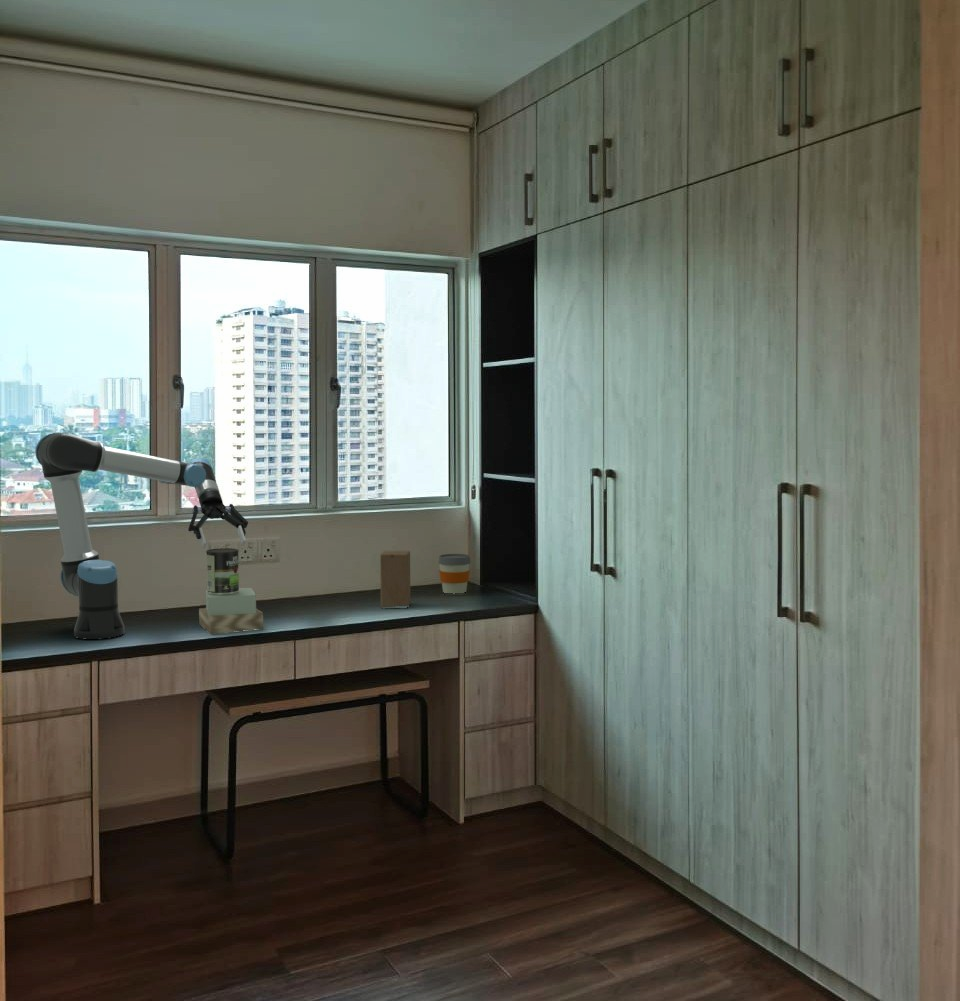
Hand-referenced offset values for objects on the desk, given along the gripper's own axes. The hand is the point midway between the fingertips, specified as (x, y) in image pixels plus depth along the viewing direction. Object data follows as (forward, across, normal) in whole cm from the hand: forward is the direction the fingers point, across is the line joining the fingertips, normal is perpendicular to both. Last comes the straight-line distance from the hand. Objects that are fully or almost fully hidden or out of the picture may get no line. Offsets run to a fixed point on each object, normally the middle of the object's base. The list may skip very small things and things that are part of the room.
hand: (224, 544), depth 339 cm
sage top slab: (+20, 0, -10) cm, 22 cm away
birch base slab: (+24, +1, -14) cm, 28 cm away
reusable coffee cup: (+14, -95, -23) cm, 99 cm away
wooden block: (+22, -63, -16) cm, 68 cm away
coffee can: (+15, +2, -7) cm, 17 cm away
